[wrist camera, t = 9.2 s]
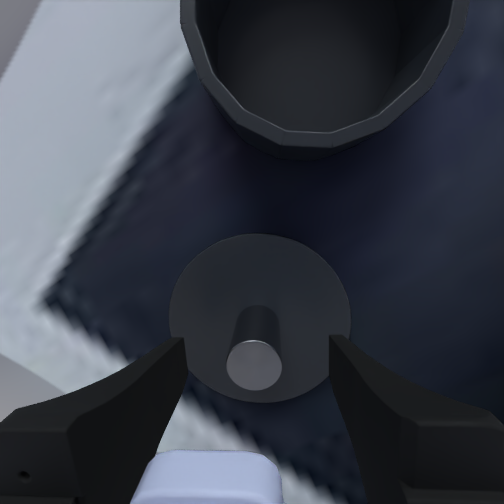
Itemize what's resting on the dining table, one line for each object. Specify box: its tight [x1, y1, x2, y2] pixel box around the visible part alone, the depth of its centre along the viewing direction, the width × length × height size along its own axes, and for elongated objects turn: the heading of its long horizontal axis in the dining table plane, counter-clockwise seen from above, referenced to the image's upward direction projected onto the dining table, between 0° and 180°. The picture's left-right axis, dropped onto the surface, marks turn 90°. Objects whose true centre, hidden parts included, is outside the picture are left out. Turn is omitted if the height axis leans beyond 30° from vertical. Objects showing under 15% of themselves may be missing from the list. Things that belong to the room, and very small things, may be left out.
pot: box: [180, 0, 470, 161], centre depth 12 cm, size 10×10×5 cm
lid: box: [169, 233, 351, 403], centre depth 15 cm, size 11×11×5 cm
